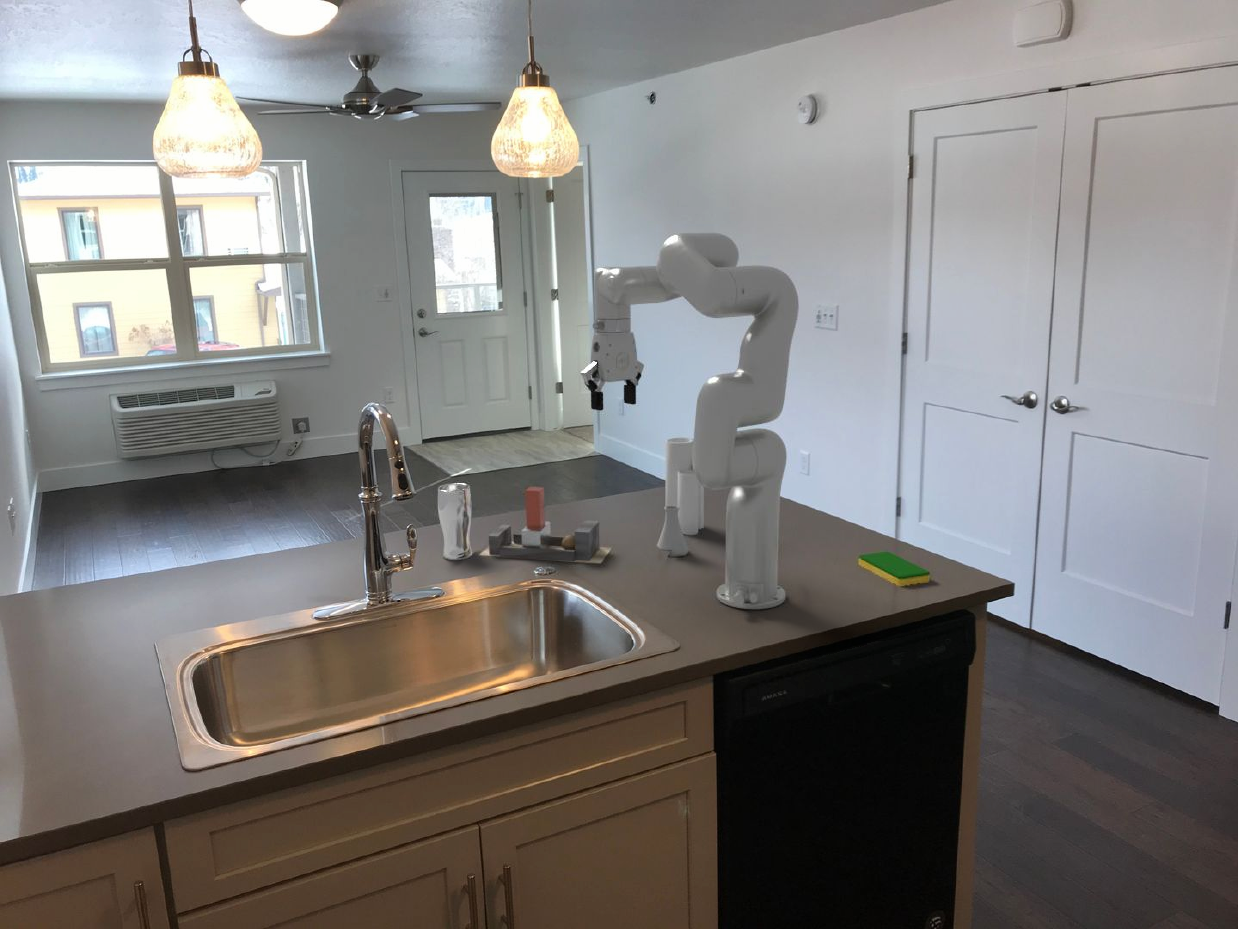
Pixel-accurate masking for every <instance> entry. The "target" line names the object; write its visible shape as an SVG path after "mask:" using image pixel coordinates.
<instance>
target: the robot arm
mask: <svg viewBox="0 0 1238 929" xmlns="http://www.w3.org/2000/svg"><path fill="white" fill-rule="evenodd" d="M739 254H740V253H739V248H738V246H737V244H736V243H735V242H734V240H732V239H731V238H730V237H729V236H727V235H726V234H722V233H717V232H681V233H680V232H679V233H676V234H674V235H671V236H669V238H667V239H666V240H665V241H664V243H663V244H662V245H661V248H660V251H659V255H658V259H657V262H656V265H644V266H643V265H642V266H624V267H623V266H603V267H602V266H601V267H598V268H597V269H595V271H594V275H593V276H594V279H593V280H594V282H593V284H594V285H593V286H594V322H593V324H592V328H593V330H594V333H593V336H592V343H591V348H590V350H591V352H590V364H589V365H588V366H587V367H585V369H583V370H582V371H581V373H580V374H581V377H582V379H583V381H584V382H583V383H584V385H585V386H586V387H587V389H588V391H590V408H591V410H595V411H603V410H604V392H603V391H602V389H603V387H604V385H605V384H606V383H616V382H622V381H624V383H625V384H623V404H627V405H637V386H639V381H640V379H641V378H642V373H643V370H644V367H645V365H644V363H642V362H641V361H639V360H638V351H637V344H636V338H635V334H634V332H633V331H632V329H631V328H632V327H631V326H632V325H631V322H632V320H631V316H632V314H631V311H632V310H631V309H632V308H631V306H633V305H644V304H645V305H646V304H647V305H648V304H660V303H661V304H662V303H665V302H669V301H672V300H675V299H679V298H681V297H682V298H683V299H684V300H686V301H687V302H688V303H689V304H690V305H691V306H692V307H693V308H694V309H695V310H696V311H697V312H699V313H700V314H701V315H703V316H705V317H707V318H712V319H725V318H738V317H747V316H753V318H754V320H753V321H752V322H751V324H750V326H749V327H748V328H747V330H746V332H745V334H744V335H743V338H742V340H741V343H740V348H739V358H738V366H737V369H736V370H735V372H734V371H733V372H728V373H727V372H725V373H721V374H717V375H714V376H712V377H710V378H709V379H707V380H706V381H705V383H704V384H702V386H701V388H700V390H699V393H698V396H697V399H696V400H697V401H696V407H695V408H696V409H695V416H694V417H695V419H694V428H693V429H694V430H693V439H694V440H693V455H692V461H693V469H694V473H695V476H696V478H697V480H698V481H699V483H700V484H701V485H702V486H704V489H705V488H706V489H708V490H713V491H717V490H719V491H720V490H725V489H730V488H731V489H730V491H729V493H728V496H727V500H726V508H725V566H724V567H725V573H724V574H725V578H724V581H725V582H724V583H722V584H721V585H719V586H718V587H717V588H716V598H717V600H718V601H719V602H721V603H723V604H724V605H726V606H729V607H733V608H738V609H744V610H764V609H765V610H766V609H772V608H774V607H777V606H779V605H781V604H782V603H784V602H785V600H786V591H785V590H784V588H782V587H781V586H779V585H778V572H779V571H778V566H779V565H778V564H779V531H780V530H779V529H780V528H779V526H780V525H779V524H780V522H779V521H780V504H781V503H780V502H781V500H780V499H781V490H782V484H783V479H784V475H785V474H784V473H785V470H786V464H787V457H788V455H787V449H786V448H787V447H786V445H785V442H784V441H783V439H782V438H781V436H780V435H779V434H778V433H776V432H775V431H773V430H771V429H767V428H759V427H758V428H750V429H749V428H747V429H743V430H738V429H739V428H746V427H750V426H753V427H754V426H757V425H763V424H768V423H771V422H773V421H775V420H777V419H778V418H779V417H780V416H781V414H782V412H783V410H784V404H785V399H786V398H785V397H786V389H787V382H788V373H789V365H790V353H791V346H792V341H793V337H794V333H795V330H796V326H797V322H798V321H797V320H798V317H799V316H798V314H799V309H800V308H799V303H800V302H799V296H798V292H797V288H796V286H795V284H794V282H793V281H792V279H791V278H790V277H789V275H788V274H787V273H786V272H784V271H783V270H780V269H779V268H776V267H773V266H767V265H739V266H737V265H738V262H739V257H740V255H739Z"/></svg>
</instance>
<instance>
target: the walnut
mask: <svg viewBox="0 0 1238 929" xmlns="http://www.w3.org/2000/svg"><path fill="white" fill-rule="evenodd" d="M564 536H565V537H564V539H563V541H562V546H563V548H564V550H575V534H568V535H564Z"/></svg>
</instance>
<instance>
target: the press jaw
mask: <svg viewBox="0 0 1238 929" xmlns="http://www.w3.org/2000/svg"><path fill="white" fill-rule="evenodd" d="M545 508H546V507H545V487H541V486H540V487H539V486H529V487H528V488H527V489H525V515H526V517H525V518H526V526H524V527H523V528H522V530H521V532H520V533H522V547H530V548H546V549H547V548H548V547H549V546H550V545H551V535H552V534H551V533H552V532H551V531H552V530H551V521H546V512H545Z"/></svg>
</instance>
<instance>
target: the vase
mask: <svg viewBox="0 0 1238 929" xmlns="http://www.w3.org/2000/svg"><path fill="white" fill-rule="evenodd" d="M693 440H694V438H690V437H671V438H667V439H665V440H664V442H665V450H664V451H665V459H664V460H665V506H668V505H676V506H679V507H680V508H679V510H678V518H679V524H680V527H681V530H682V533H683V534H686V535H685V536H695V535H698V534H699V530H702V529H701V528H703V529H704V526H705V525H704V523H705V522H704V514H705V513H704V512H705V500H704V499H705V497H704V496H705V487H704V486H702V485H701V484H700V483H699V481H698V480H697V478H696V476H695V473H694V469H693V461H692V455H693ZM694 534H695V535H694Z"/></svg>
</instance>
